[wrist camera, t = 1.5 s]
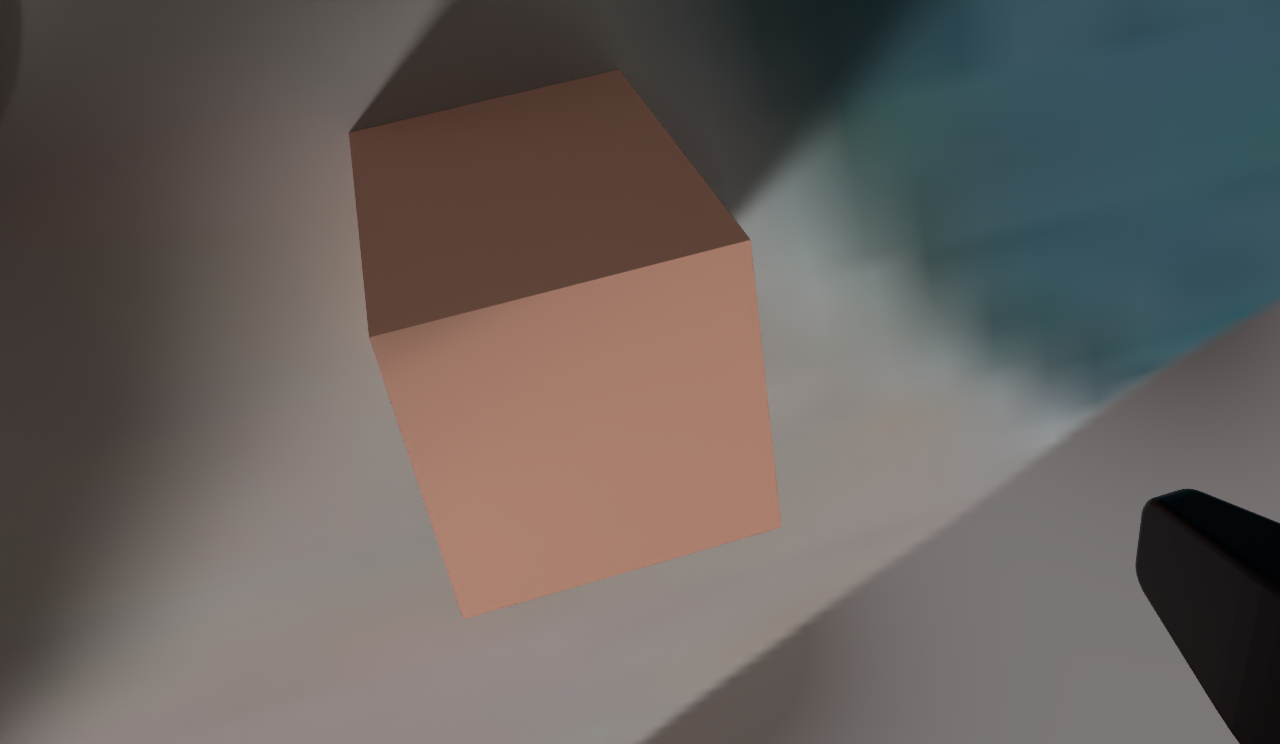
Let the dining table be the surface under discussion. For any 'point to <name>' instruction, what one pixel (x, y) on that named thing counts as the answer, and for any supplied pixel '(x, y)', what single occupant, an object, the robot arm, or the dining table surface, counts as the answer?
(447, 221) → the copper brown block
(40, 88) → the dining table surface
